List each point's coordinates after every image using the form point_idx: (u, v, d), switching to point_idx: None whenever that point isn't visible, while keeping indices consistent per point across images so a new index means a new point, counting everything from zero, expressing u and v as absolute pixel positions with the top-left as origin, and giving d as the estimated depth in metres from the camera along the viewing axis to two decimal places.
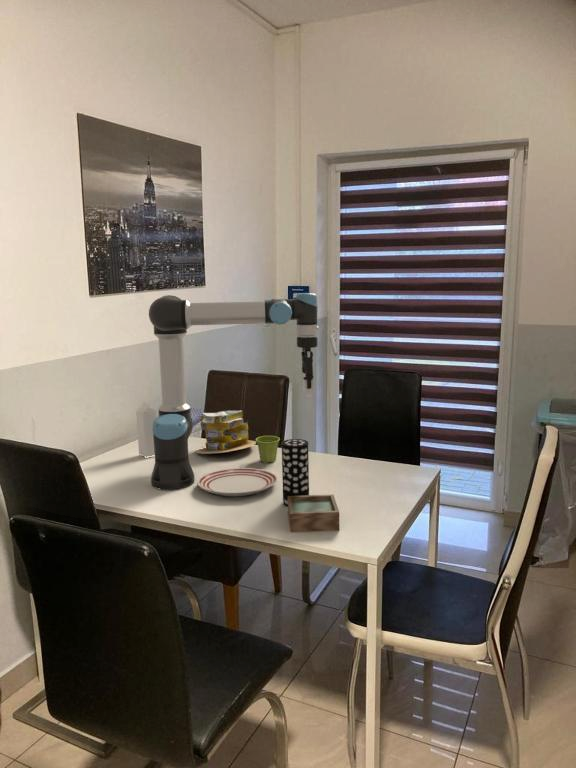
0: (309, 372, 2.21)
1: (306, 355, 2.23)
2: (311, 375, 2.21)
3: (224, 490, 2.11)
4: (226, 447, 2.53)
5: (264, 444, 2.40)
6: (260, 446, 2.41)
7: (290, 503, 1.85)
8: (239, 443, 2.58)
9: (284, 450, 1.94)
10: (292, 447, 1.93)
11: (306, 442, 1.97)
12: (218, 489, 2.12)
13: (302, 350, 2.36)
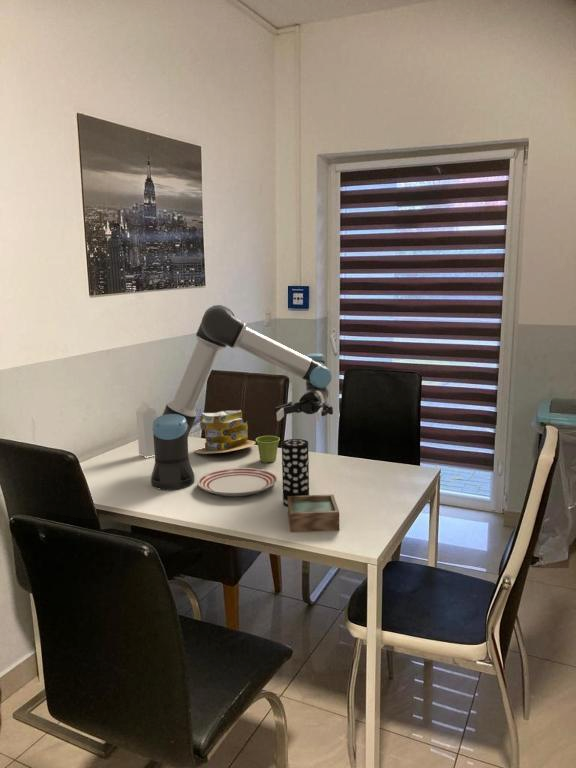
0: None
1: (327, 403, 2.18)
2: None
3: (224, 490, 2.11)
4: (225, 447, 2.53)
5: (264, 444, 2.40)
6: (260, 446, 2.41)
7: (290, 503, 1.85)
8: (238, 443, 2.58)
9: (284, 450, 1.94)
10: (292, 447, 1.93)
11: (306, 442, 1.97)
12: (218, 489, 2.12)
13: None
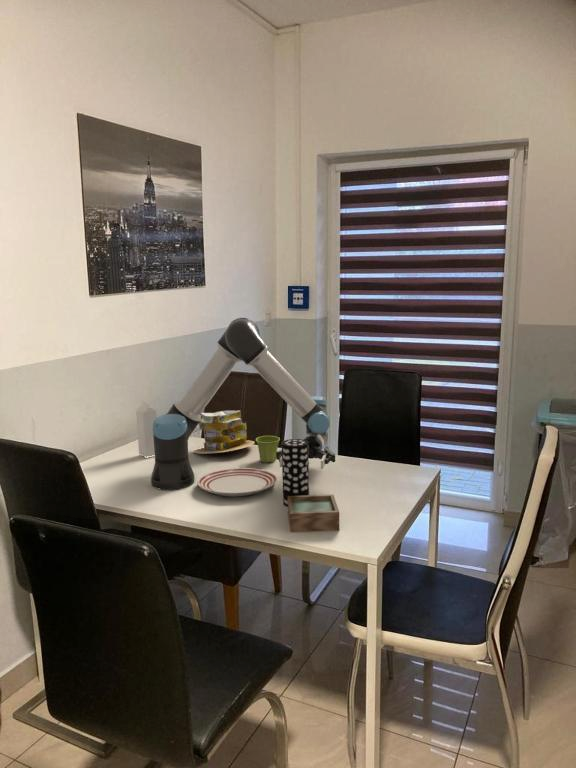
0: None
1: (328, 449, 2.18)
2: None
3: (224, 490, 2.11)
4: (224, 447, 2.53)
5: (264, 444, 2.40)
6: (260, 446, 2.41)
7: (290, 503, 1.85)
8: (237, 443, 2.58)
9: (284, 450, 1.94)
10: (292, 447, 1.93)
11: (306, 442, 1.97)
12: (218, 489, 2.12)
13: None
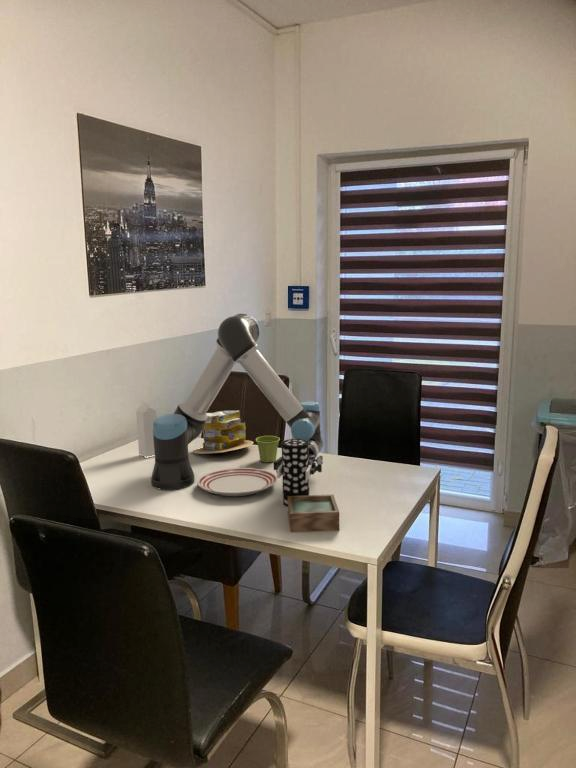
0: None
1: (321, 458, 2.07)
2: None
3: (224, 490, 2.11)
4: (223, 447, 2.53)
5: (264, 444, 2.40)
6: (260, 446, 2.41)
7: (290, 503, 1.85)
8: (236, 443, 2.58)
9: (284, 449, 1.94)
10: (292, 447, 1.93)
11: (306, 442, 1.97)
12: (218, 489, 2.12)
13: None
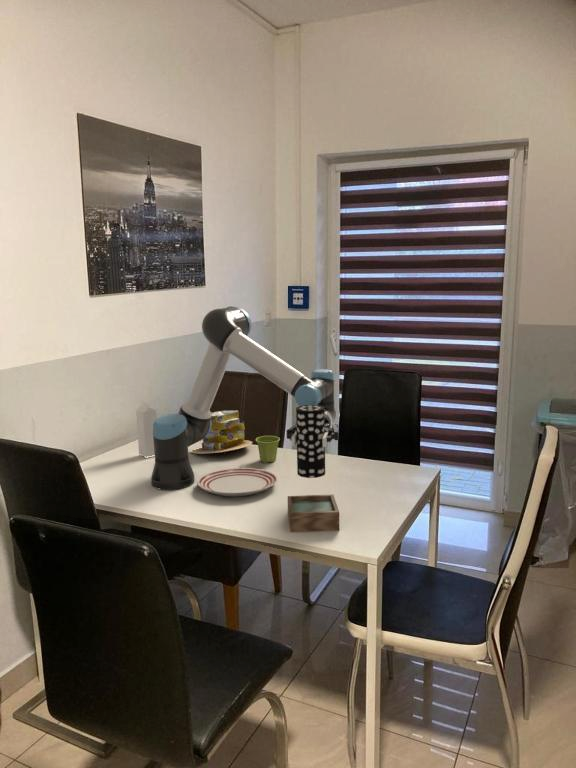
0: None
1: (337, 426, 1.95)
2: None
3: (224, 490, 2.11)
4: (222, 447, 2.53)
5: (264, 444, 2.40)
6: (260, 446, 2.41)
7: (290, 503, 1.85)
8: (235, 443, 2.58)
9: (299, 415, 1.82)
10: (308, 412, 1.80)
11: (322, 407, 1.84)
12: (218, 489, 2.12)
13: (295, 424, 1.97)
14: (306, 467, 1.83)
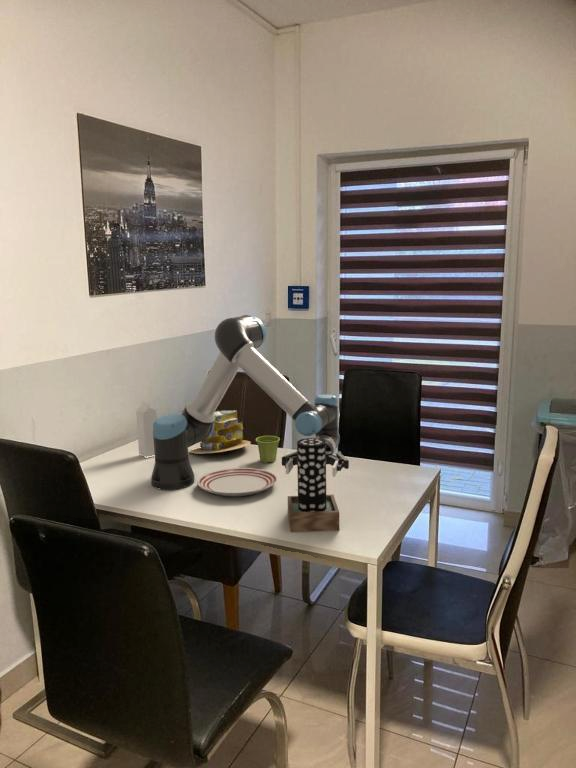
0: None
1: (341, 454, 1.93)
2: None
3: (224, 490, 2.11)
4: (220, 447, 2.53)
5: (264, 444, 2.40)
6: (260, 446, 2.41)
7: (290, 503, 1.85)
8: (234, 443, 2.58)
9: (300, 449, 1.79)
10: (309, 447, 1.78)
11: (323, 441, 1.82)
12: (218, 489, 2.12)
13: None
14: (307, 502, 1.81)
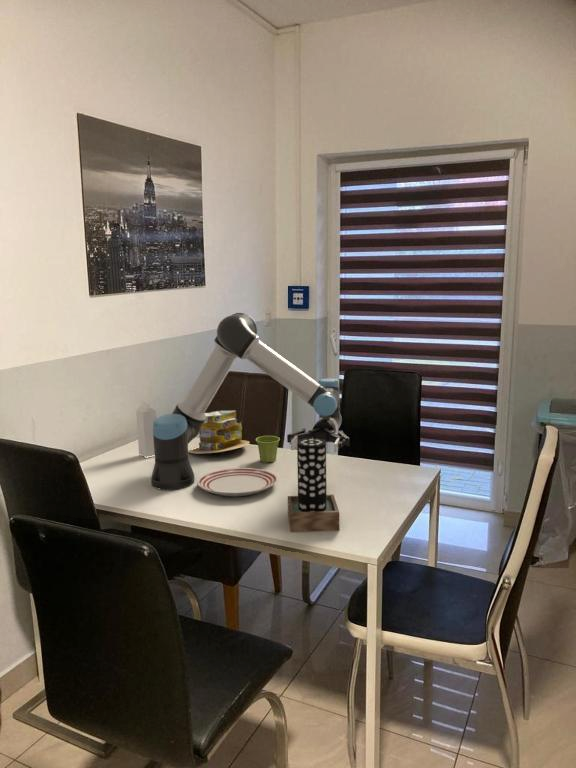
0: None
1: None
2: None
3: (224, 490, 2.11)
4: (219, 447, 2.53)
5: (264, 444, 2.40)
6: (260, 446, 2.41)
7: (290, 503, 1.85)
8: (232, 443, 2.59)
9: (300, 450, 1.79)
10: (309, 447, 1.78)
11: (324, 442, 1.81)
12: (218, 489, 2.12)
13: (302, 429, 2.11)
14: (307, 502, 1.81)
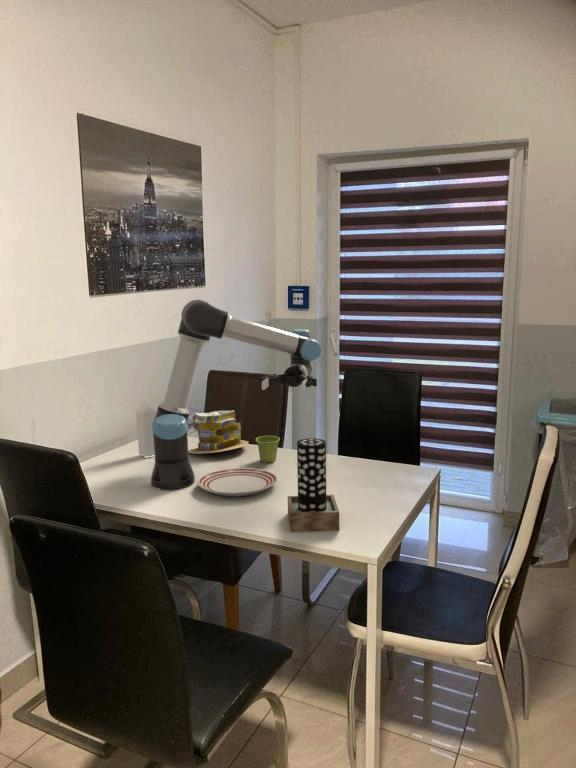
0: None
1: (311, 376, 2.22)
2: None
3: (224, 490, 2.11)
4: (218, 447, 2.53)
5: (264, 444, 2.40)
6: (260, 446, 2.41)
7: (290, 503, 1.85)
8: (231, 443, 2.59)
9: (300, 450, 1.79)
10: (309, 447, 1.78)
11: (323, 441, 1.81)
12: (218, 489, 2.12)
13: (273, 374, 2.25)
14: (307, 502, 1.81)
